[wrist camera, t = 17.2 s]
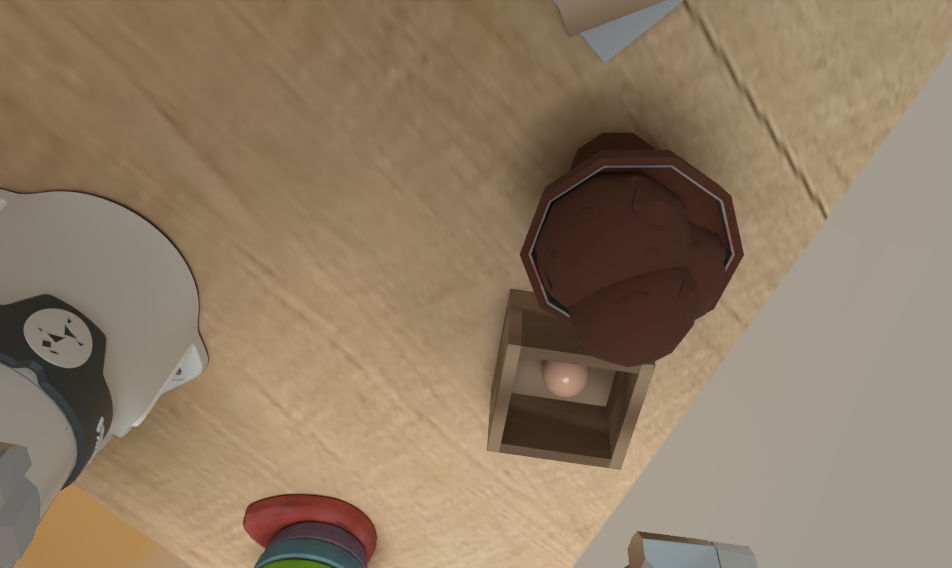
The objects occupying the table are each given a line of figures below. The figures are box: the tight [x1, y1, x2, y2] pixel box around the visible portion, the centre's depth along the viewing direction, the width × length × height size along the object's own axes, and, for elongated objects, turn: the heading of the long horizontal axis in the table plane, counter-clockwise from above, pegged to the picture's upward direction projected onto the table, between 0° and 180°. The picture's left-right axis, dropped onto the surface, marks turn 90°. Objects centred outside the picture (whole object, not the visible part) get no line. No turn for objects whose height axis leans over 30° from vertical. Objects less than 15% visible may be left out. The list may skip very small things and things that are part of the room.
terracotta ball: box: [542, 360, 589, 398], centre depth 54 cm, size 3×3×3 cm
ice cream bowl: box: [520, 133, 744, 367], centre depth 42 cm, size 11×11×15 cm
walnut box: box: [487, 289, 655, 470], centre depth 53 cm, size 9×9×6 cm
